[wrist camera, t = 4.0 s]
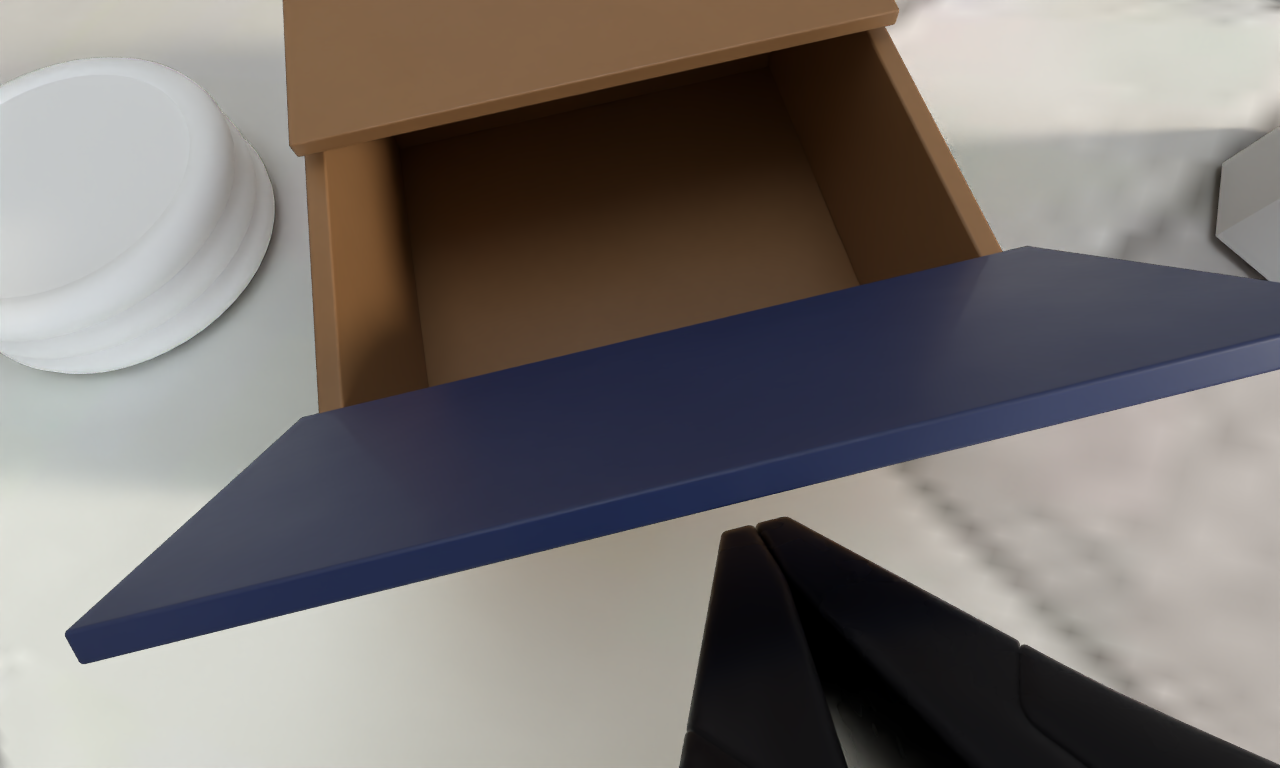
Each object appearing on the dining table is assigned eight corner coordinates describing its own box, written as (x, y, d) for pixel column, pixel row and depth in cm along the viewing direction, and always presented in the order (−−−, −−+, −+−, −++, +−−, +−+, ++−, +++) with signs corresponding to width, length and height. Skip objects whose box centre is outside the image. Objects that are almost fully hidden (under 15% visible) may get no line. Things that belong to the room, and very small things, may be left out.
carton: (915, 393, 20) (1032, 248, 13) (431, 510, 19) (297, 422, 13) (776, 65, 25) (810, -160, 18) (389, 152, 24) (277, -48, 18)
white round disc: (-37, 206, 25) (-146, 135, 21) (232, 87, 26) (168, 3, 23) (15, 438, 21) (-107, 394, 18) (324, 283, 22) (263, 218, 19)
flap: (1027, 244, 13) (1028, 266, 13) (300, 416, 13) (308, 437, 13) (1418, 301, 7) (1414, 337, 7) (60, 632, 7) (78, 667, 7)
